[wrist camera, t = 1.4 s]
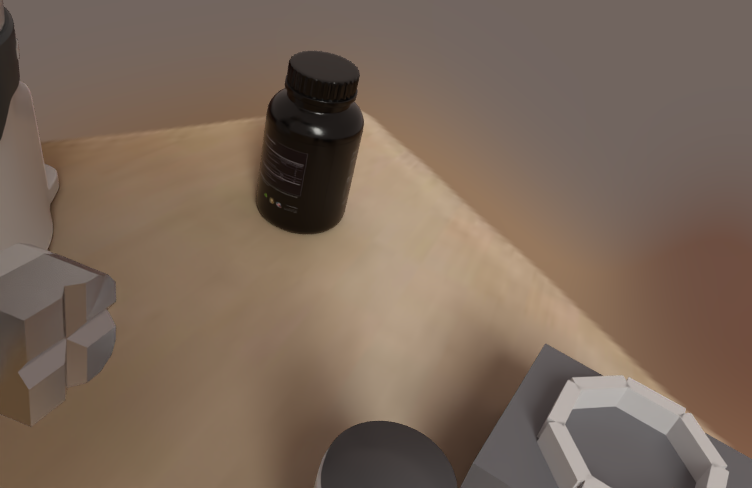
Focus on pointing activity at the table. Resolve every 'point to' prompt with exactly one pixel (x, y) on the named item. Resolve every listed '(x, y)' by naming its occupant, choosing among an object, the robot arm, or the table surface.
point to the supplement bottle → (310, 144)
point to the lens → (384, 459)
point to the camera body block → (599, 436)
